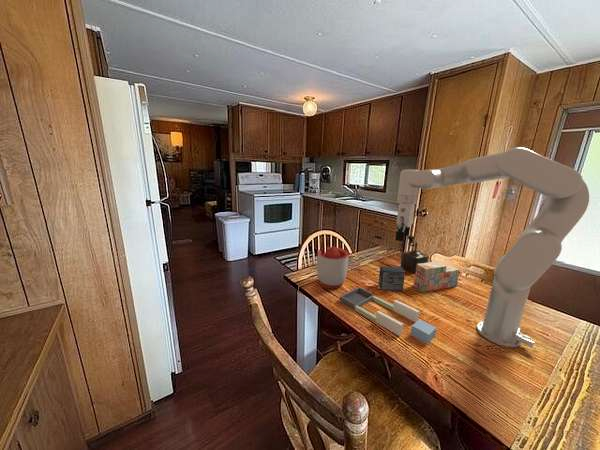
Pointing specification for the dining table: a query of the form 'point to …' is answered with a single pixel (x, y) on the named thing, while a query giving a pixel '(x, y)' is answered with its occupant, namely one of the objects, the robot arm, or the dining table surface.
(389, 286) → the small box
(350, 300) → the two-pronged grey tray
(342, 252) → the citrus juicer
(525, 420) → the dining table surface
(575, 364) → the dining table surface
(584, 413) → the dining table surface
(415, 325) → the block
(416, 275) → the stack of blocks
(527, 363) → the dining table surface
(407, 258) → the black upright piece
